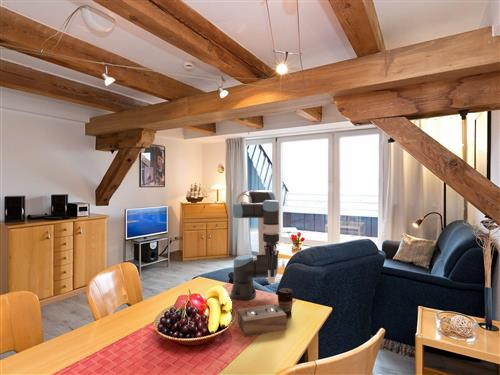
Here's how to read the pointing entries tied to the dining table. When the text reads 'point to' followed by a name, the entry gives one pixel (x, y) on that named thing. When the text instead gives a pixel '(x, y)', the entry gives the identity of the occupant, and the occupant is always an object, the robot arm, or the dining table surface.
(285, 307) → the coffee cup
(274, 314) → the socket block
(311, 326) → the dining table surface
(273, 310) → the peg back
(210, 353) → the dining table surface
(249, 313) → the peg front
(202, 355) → the dining table surface
